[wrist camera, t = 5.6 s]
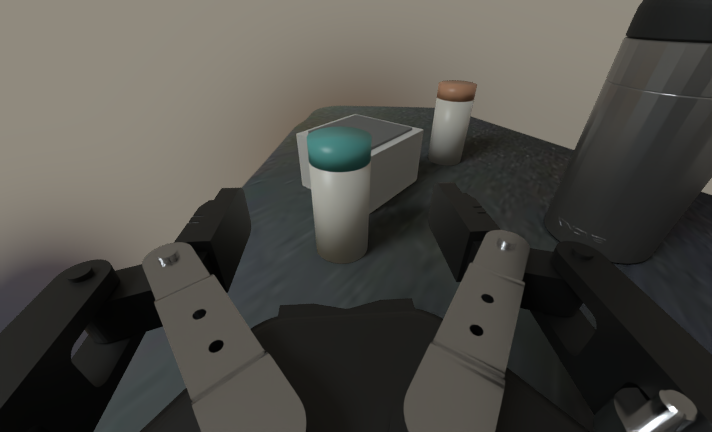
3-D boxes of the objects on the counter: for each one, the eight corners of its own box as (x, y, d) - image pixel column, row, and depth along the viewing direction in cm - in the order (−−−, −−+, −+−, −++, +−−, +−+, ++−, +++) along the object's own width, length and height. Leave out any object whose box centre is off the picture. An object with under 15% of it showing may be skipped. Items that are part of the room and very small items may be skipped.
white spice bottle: (444, 150, 49) (457, 79, 43) (467, 161, 45) (485, 85, 39) (421, 156, 47) (431, 82, 41) (443, 168, 43) (457, 89, 37)
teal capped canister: (352, 225, 32) (352, 123, 25) (377, 252, 28) (384, 141, 22) (309, 239, 30) (297, 132, 23) (329, 270, 26) (322, 154, 20)
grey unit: (355, 159, 46) (354, 111, 42) (416, 180, 40) (423, 127, 36) (300, 186, 39) (294, 132, 35) (366, 216, 33) (367, 155, 29)
